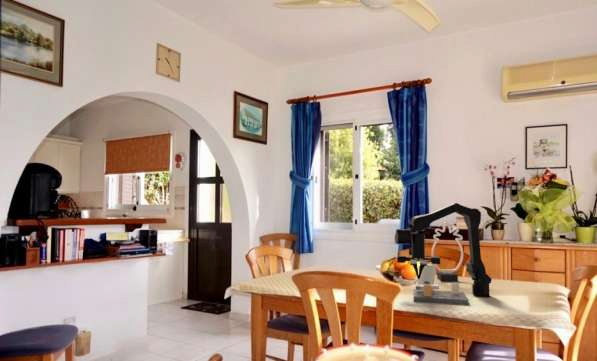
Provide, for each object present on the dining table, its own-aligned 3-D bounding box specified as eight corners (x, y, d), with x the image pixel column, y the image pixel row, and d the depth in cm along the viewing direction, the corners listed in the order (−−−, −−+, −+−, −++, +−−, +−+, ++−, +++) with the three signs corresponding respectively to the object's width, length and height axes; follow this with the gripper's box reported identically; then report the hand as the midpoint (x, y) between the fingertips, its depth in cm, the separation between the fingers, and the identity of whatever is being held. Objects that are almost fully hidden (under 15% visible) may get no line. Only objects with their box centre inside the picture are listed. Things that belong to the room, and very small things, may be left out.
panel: (463, 296, 195) (463, 282, 195) (468, 304, 180) (468, 289, 180) (413, 293, 201) (413, 280, 201) (413, 301, 185) (413, 287, 186)
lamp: (460, 278, 239) (459, 221, 240) (465, 281, 230) (464, 222, 231) (429, 278, 240) (429, 221, 241) (433, 281, 231) (432, 221, 233)
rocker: (438, 287, 196) (438, 284, 196) (439, 289, 192) (438, 285, 192) (415, 287, 199) (415, 284, 199) (415, 289, 195) (415, 286, 195)
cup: (436, 292, 205) (436, 266, 205) (417, 291, 206) (416, 265, 207) (434, 288, 213) (434, 263, 214) (415, 287, 215) (415, 263, 216)
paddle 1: (431, 295, 189) (431, 283, 189) (431, 296, 186) (431, 285, 186) (423, 294, 190) (423, 283, 190) (424, 296, 187) (423, 284, 187)
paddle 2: (458, 292, 193) (458, 281, 194) (459, 294, 191) (459, 282, 191) (451, 292, 194) (451, 281, 194) (451, 293, 191) (451, 282, 192)
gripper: (438, 243, 203) (439, 276, 202) (397, 241, 207) (398, 274, 207) (440, 245, 192) (440, 281, 191) (397, 244, 197) (397, 278, 196)
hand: (418, 278), depth 197 cm, fingers closed
